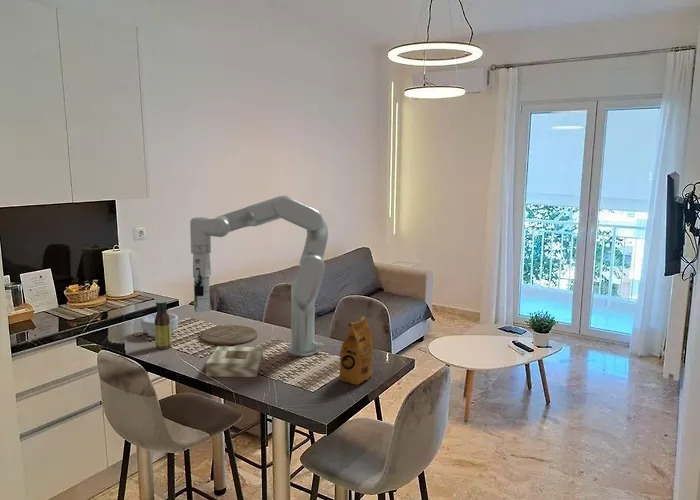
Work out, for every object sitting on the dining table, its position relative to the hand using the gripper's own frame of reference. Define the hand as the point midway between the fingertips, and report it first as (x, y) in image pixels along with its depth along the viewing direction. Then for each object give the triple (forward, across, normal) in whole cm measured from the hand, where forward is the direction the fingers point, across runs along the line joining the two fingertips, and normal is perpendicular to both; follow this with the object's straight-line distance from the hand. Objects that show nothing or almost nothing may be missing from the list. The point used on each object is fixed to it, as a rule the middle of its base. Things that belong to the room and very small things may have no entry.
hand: (201, 293), depth 206 cm
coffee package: (+26, -22, -61) cm, 70 cm away
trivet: (+26, +24, -6) cm, 36 cm away
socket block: (+26, -13, -16) cm, 33 cm away
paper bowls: (+26, +26, +25) cm, 44 cm away
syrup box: (+7, 0, 0) cm, 7 cm away
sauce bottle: (+26, +8, +18) cm, 32 cm away
